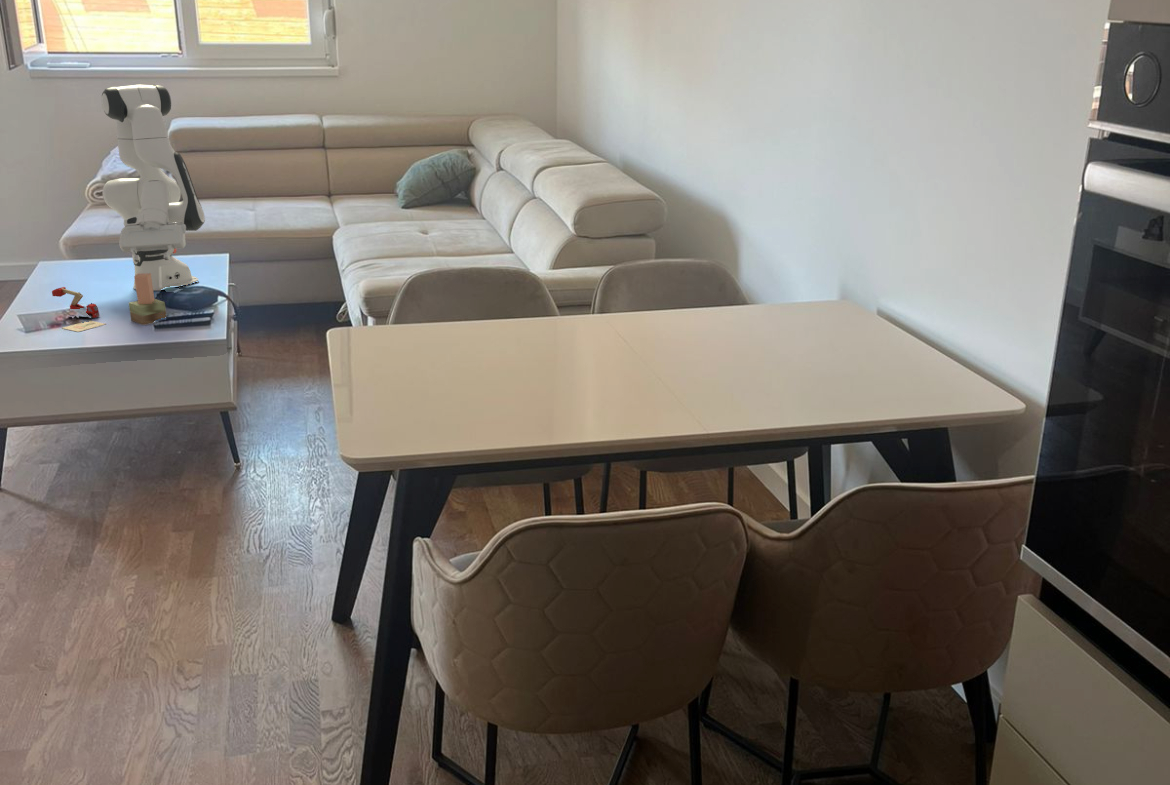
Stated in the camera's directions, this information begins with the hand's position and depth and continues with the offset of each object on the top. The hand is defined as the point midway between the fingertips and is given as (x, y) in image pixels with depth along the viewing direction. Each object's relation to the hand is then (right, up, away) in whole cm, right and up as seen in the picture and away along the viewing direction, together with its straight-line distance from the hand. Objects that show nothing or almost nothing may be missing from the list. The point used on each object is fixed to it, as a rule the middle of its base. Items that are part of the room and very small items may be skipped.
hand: (151, 260), depth 344 cm
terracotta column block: (-1, -14, -1) cm, 14 cm away
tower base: (-1, -19, +1) cm, 19 cm away
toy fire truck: (-25, -18, +4) cm, 32 cm away
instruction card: (-19, -22, -6) cm, 29 cm away
